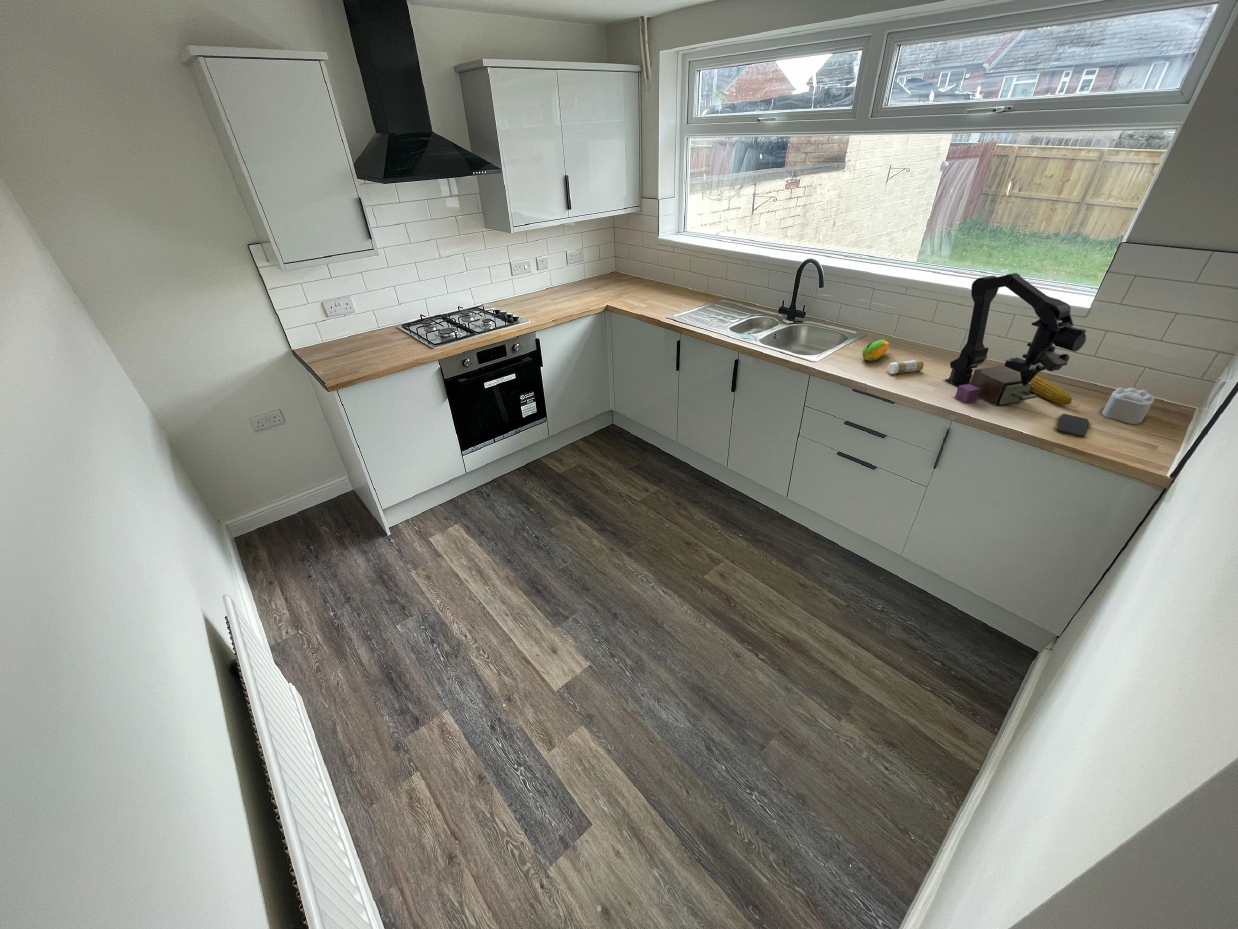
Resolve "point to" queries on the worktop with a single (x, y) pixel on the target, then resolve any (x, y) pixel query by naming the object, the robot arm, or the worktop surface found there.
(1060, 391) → the food
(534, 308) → the worktop surface
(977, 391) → the block
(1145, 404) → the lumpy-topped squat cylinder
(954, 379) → the robot arm
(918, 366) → the sprinkles bottle
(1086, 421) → the phone
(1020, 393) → the drawer
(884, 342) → the corn
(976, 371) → the cabinet
